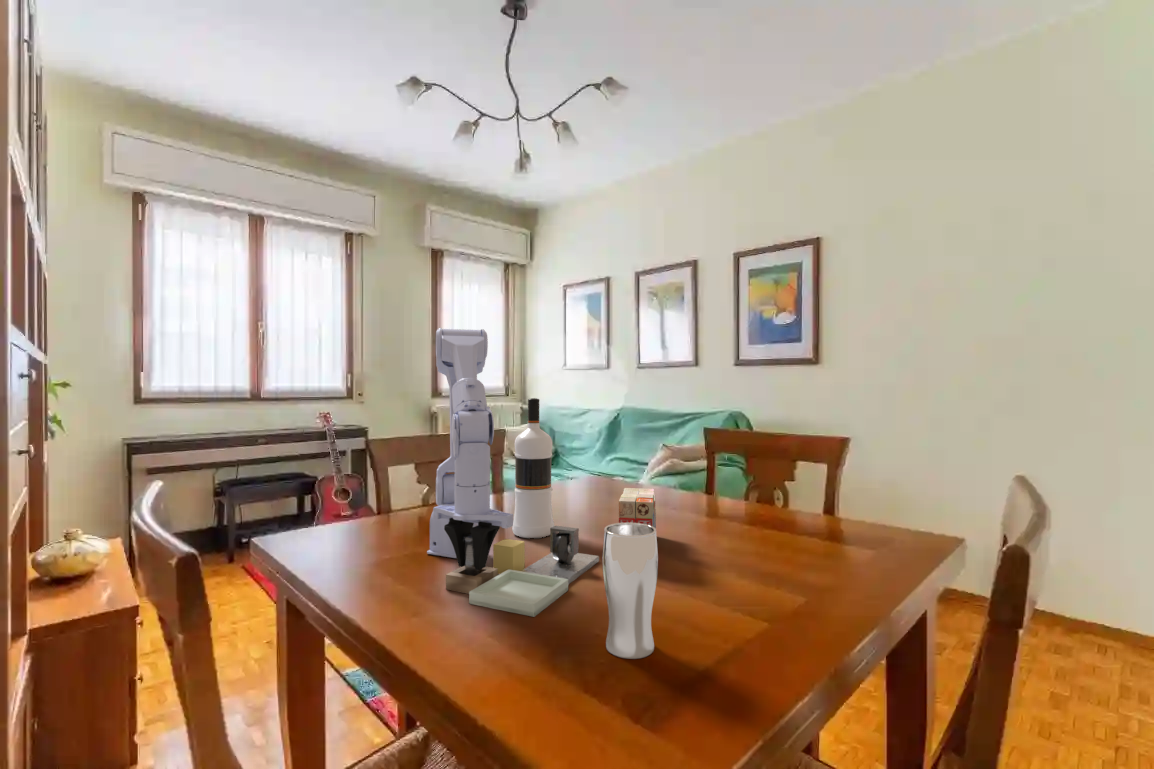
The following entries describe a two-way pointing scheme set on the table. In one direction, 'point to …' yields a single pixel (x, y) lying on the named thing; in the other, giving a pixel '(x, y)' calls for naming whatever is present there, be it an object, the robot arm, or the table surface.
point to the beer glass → (630, 587)
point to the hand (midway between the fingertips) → (472, 566)
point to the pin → (469, 556)
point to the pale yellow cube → (509, 555)
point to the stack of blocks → (637, 506)
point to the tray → (519, 592)
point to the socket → (468, 579)
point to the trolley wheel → (563, 556)
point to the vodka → (533, 479)
